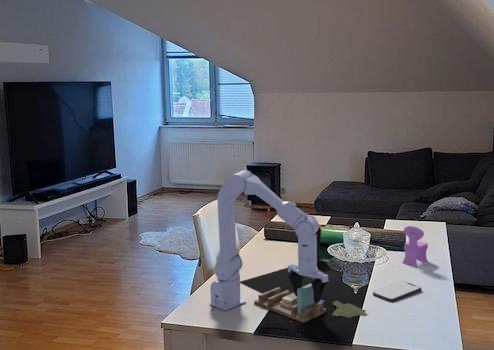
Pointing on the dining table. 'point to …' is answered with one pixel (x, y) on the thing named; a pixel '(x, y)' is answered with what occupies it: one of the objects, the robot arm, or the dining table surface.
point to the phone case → (397, 291)
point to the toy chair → (414, 246)
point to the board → (304, 298)
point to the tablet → (274, 281)
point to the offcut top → (290, 299)
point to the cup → (318, 241)
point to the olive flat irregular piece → (347, 310)
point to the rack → (273, 303)
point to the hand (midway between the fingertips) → (307, 298)
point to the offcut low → (287, 304)
